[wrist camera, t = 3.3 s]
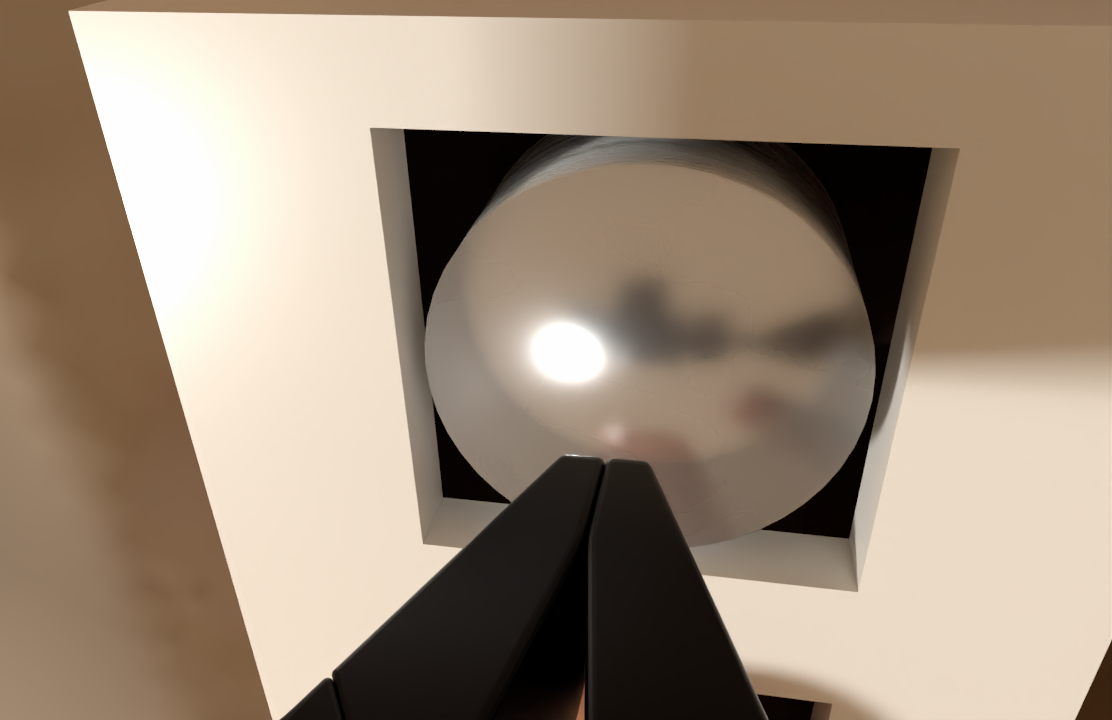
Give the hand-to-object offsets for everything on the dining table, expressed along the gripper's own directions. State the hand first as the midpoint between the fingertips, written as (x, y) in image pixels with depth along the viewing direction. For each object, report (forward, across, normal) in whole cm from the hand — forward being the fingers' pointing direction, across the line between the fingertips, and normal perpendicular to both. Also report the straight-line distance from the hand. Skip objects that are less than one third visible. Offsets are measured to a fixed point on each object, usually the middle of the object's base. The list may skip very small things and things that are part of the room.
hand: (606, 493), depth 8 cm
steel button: (+5, 0, 0) cm, 5 cm away
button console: (+6, 0, +4) cm, 7 cm away
